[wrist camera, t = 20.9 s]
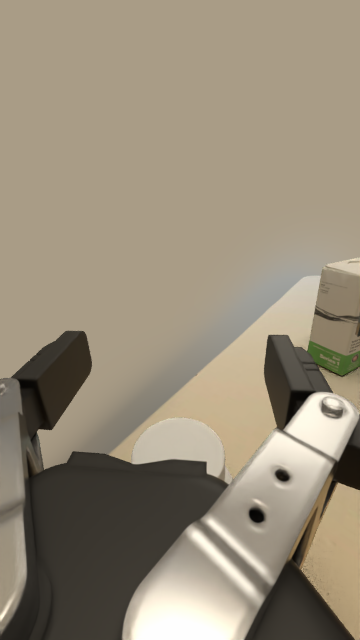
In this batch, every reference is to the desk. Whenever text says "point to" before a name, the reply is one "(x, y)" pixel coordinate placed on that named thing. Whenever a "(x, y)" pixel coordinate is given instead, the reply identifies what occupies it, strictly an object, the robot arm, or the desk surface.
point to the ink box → (337, 318)
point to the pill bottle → (182, 445)
